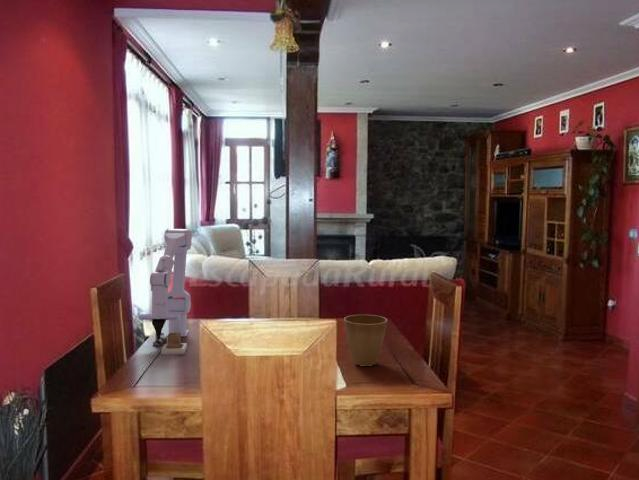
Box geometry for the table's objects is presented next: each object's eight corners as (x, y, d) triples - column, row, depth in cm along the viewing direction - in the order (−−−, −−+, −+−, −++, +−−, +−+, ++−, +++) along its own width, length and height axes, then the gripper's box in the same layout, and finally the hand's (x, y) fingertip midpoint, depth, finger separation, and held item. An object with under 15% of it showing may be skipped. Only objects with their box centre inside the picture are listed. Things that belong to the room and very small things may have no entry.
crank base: (154, 342, 206) (154, 332, 205) (180, 341, 207) (180, 331, 207) (151, 346, 200) (151, 336, 199) (178, 346, 201) (178, 335, 201)
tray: (164, 348, 197) (164, 343, 197) (186, 348, 198) (186, 343, 198) (161, 354, 189) (161, 349, 189) (183, 354, 190) (183, 349, 190)
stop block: (169, 348, 195) (169, 332, 195) (180, 348, 196) (180, 332, 195) (167, 351, 191) (167, 335, 191) (178, 351, 192) (179, 335, 191)
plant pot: (349, 355, 193) (350, 312, 192) (389, 360, 188) (391, 316, 187) (337, 367, 179) (338, 321, 178) (380, 372, 174) (381, 325, 173)
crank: (154, 340, 203) (154, 332, 203) (162, 339, 205) (162, 331, 204) (160, 346, 195) (160, 337, 195) (169, 345, 197) (169, 336, 197)
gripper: (137, 304, 192) (137, 341, 193) (178, 305, 194) (177, 341, 195) (141, 301, 199) (141, 336, 200) (180, 302, 201) (180, 337, 202)
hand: (159, 338), depth 198 cm, fingers closed, pressing on crank
